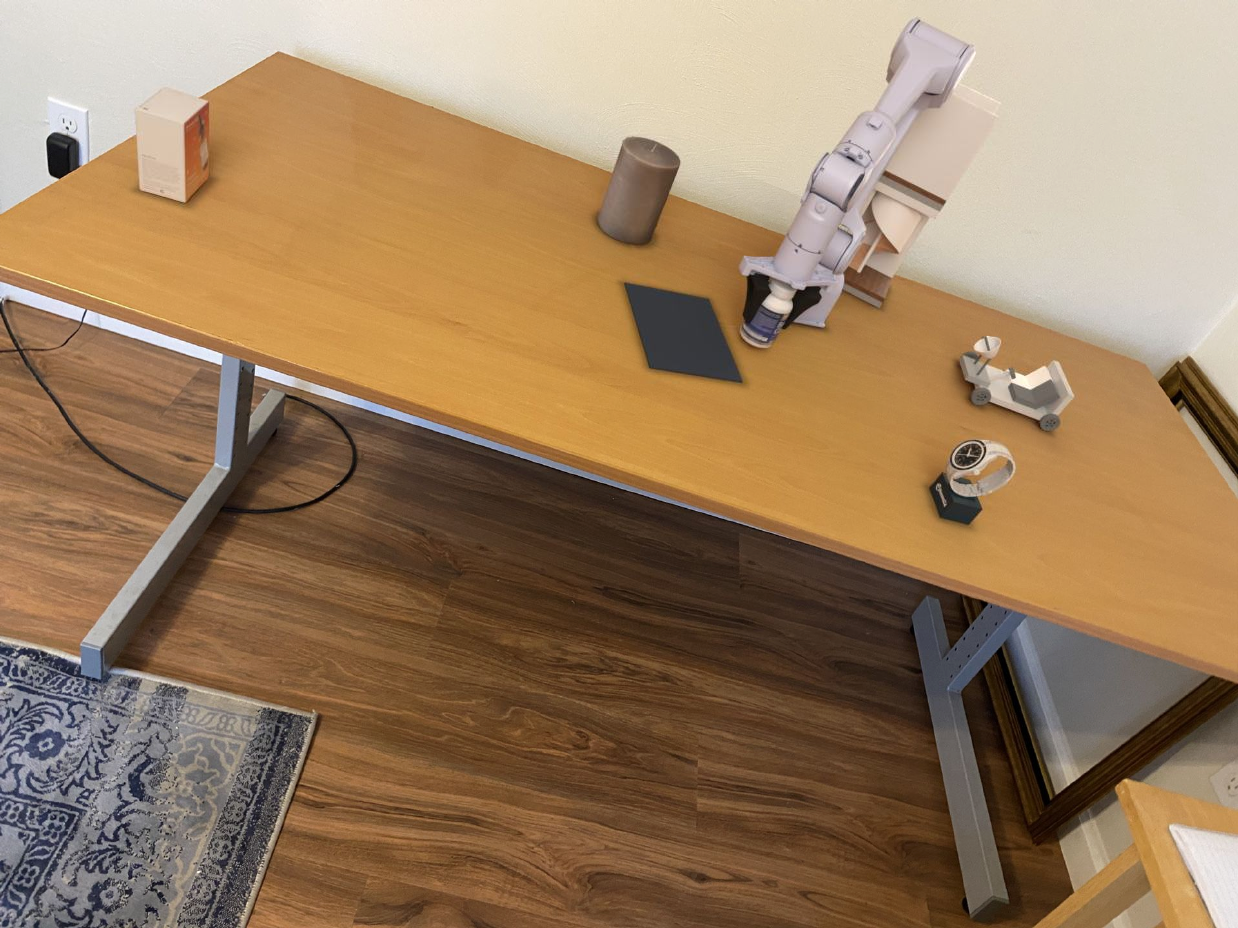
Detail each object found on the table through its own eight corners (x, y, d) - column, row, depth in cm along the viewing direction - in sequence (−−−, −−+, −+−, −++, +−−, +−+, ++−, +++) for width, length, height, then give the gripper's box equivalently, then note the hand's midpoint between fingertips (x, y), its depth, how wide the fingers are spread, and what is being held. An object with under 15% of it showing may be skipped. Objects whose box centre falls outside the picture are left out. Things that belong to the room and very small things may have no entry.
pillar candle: (661, 236, 141) (695, 153, 131) (632, 251, 134) (665, 164, 124) (616, 208, 143) (645, 124, 133) (584, 221, 136) (613, 133, 126)
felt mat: (708, 300, 131) (708, 298, 130) (742, 382, 117) (742, 381, 117) (624, 283, 126) (624, 282, 126) (649, 368, 112) (650, 366, 112)
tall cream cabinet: (821, 278, 149) (930, 84, 127) (832, 257, 158) (936, 72, 135) (879, 308, 148) (999, 118, 126) (886, 285, 156) (1001, 103, 134)
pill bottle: (770, 354, 123) (801, 299, 116) (737, 340, 122) (765, 284, 116) (773, 336, 127) (802, 282, 120) (740, 322, 126) (768, 267, 120)
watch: (916, 484, 113) (963, 425, 106) (968, 498, 115) (1018, 440, 107) (927, 514, 109) (977, 455, 102) (980, 528, 110) (1033, 470, 103)
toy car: (989, 347, 128) (976, 310, 136) (952, 396, 134) (942, 356, 143) (1093, 388, 129) (1074, 348, 138) (1052, 433, 136) (1036, 392, 144)
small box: (185, 205, 105) (183, 124, 98) (138, 191, 104) (133, 108, 97) (210, 178, 111) (210, 100, 104) (166, 164, 110) (163, 85, 103)
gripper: (767, 247, 109) (726, 330, 117) (861, 268, 114) (814, 346, 122) (753, 219, 113) (714, 301, 122) (843, 240, 118) (799, 318, 127)
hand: (763, 322), depth 123 cm, fingers closed on pill bottle, 5 cm apart
